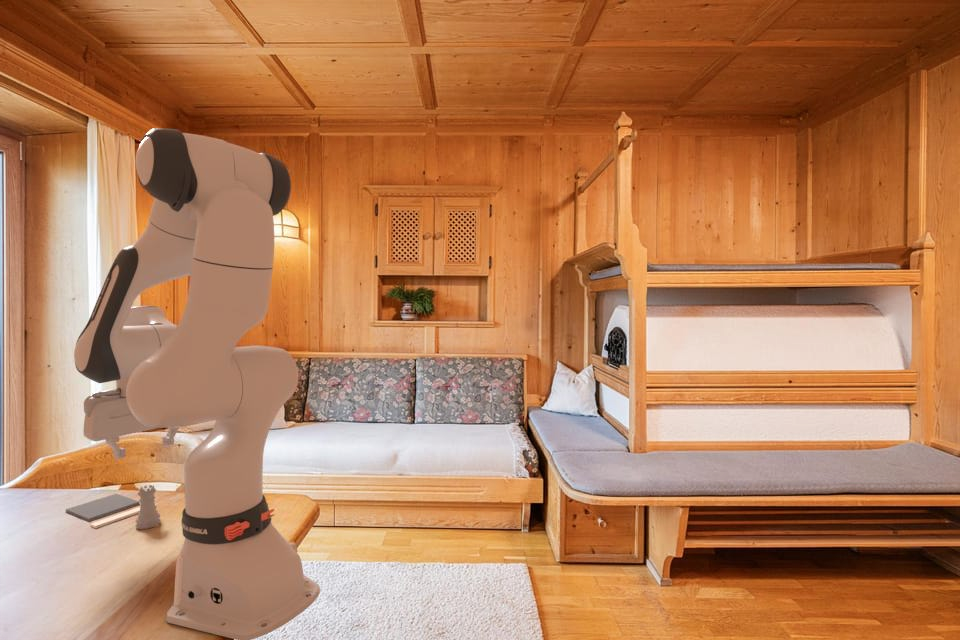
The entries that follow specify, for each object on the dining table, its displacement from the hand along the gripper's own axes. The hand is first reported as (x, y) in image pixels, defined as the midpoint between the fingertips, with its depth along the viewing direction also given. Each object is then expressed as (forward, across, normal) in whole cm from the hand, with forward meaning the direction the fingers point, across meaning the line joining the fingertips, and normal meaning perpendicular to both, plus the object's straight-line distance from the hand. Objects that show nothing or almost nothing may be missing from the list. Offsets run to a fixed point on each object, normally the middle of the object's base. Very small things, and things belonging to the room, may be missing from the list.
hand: (144, 451), depth 104 cm
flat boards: (+16, 0, +15) cm, 22 cm away
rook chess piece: (+16, 0, -1) cm, 16 cm away
